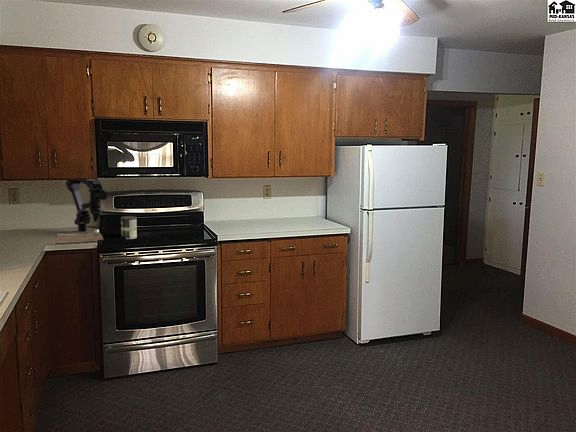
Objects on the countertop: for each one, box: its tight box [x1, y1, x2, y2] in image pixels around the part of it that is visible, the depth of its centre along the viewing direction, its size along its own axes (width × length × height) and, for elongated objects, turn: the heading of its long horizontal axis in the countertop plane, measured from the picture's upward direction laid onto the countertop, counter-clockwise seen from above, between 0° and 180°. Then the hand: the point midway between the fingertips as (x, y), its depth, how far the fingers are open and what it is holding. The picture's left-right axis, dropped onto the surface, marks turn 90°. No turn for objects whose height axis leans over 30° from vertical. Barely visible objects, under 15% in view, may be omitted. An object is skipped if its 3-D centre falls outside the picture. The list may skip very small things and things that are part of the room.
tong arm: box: [65, 228, 101, 237], centre depth 331 cm, size 22×3×4 cm, turn 115°
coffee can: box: [120, 215, 138, 240], centre depth 335 cm, size 10×10×14 cm
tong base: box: [56, 232, 86, 237], centre depth 330 cm, size 5×20×2 cm, turn 115°
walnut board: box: [55, 233, 104, 245], centre depth 325 cm, size 20×28×2 cm
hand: (95, 221), depth 340 cm, fingers open, 8 cm apart
